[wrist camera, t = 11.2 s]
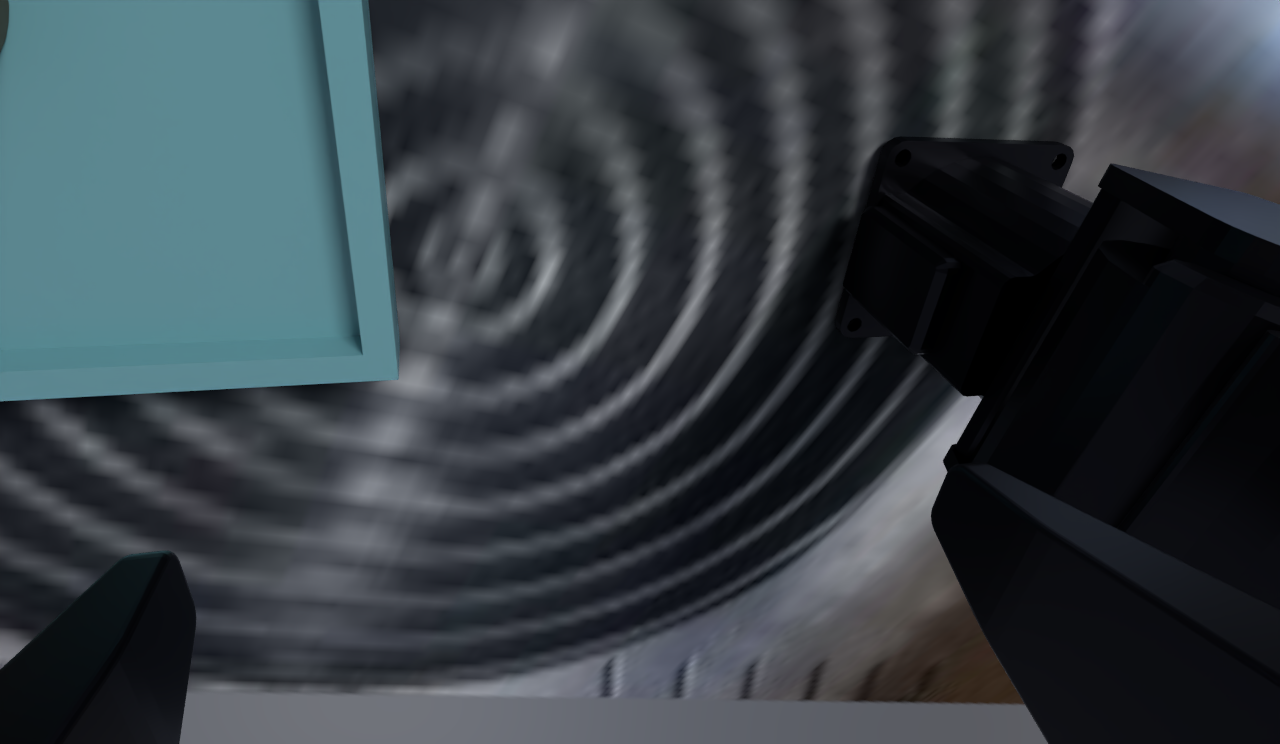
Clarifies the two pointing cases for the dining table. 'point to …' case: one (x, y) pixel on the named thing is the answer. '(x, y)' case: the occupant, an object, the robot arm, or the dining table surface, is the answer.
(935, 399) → the dining table surface
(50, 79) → the teal tray
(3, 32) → the pepper mill
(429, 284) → the dining table surface
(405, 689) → the dining table surface
